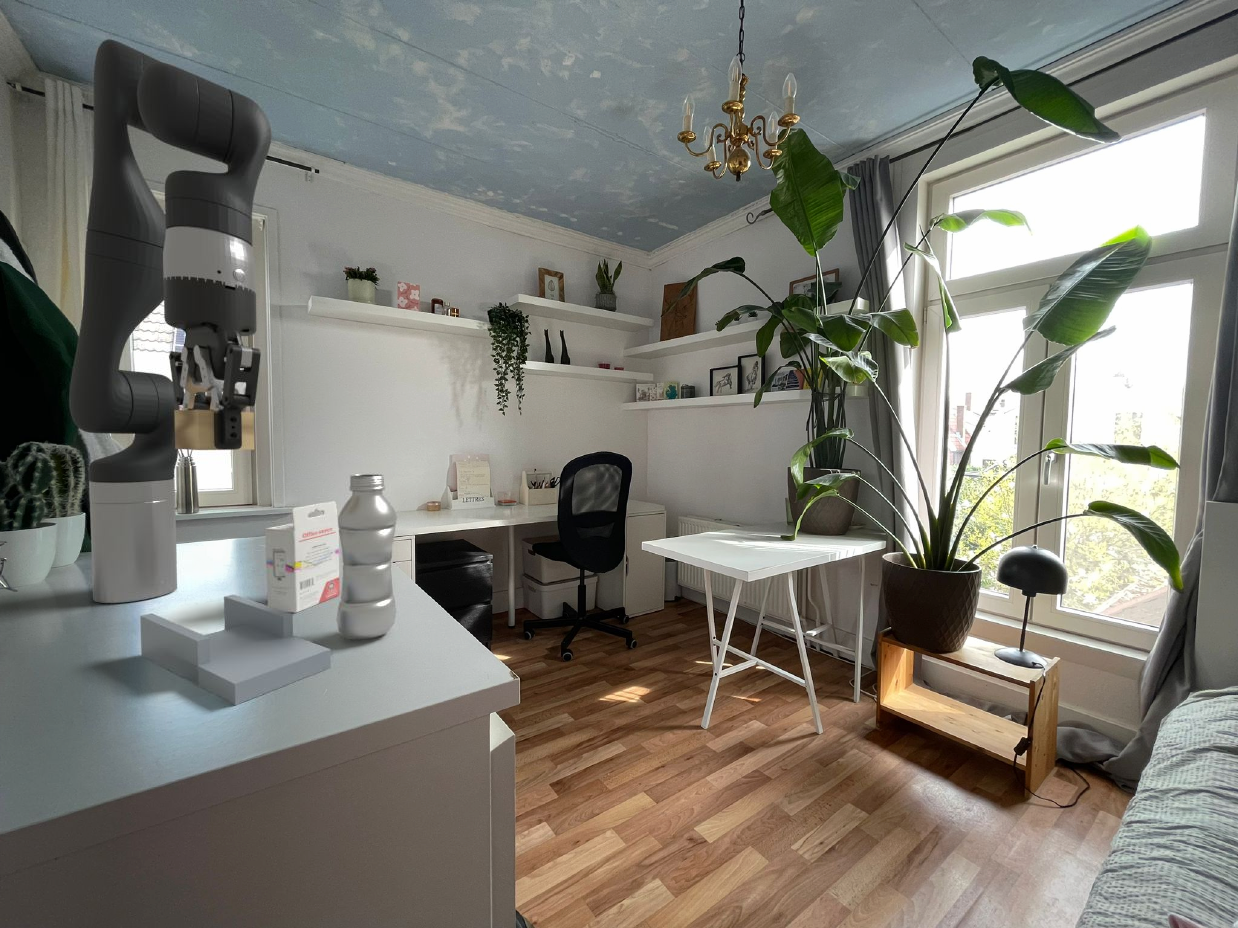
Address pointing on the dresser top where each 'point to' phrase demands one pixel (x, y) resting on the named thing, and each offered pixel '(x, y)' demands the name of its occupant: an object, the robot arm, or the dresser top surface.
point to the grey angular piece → (235, 651)
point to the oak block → (207, 430)
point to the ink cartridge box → (303, 559)
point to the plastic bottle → (366, 560)
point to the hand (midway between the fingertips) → (214, 447)
